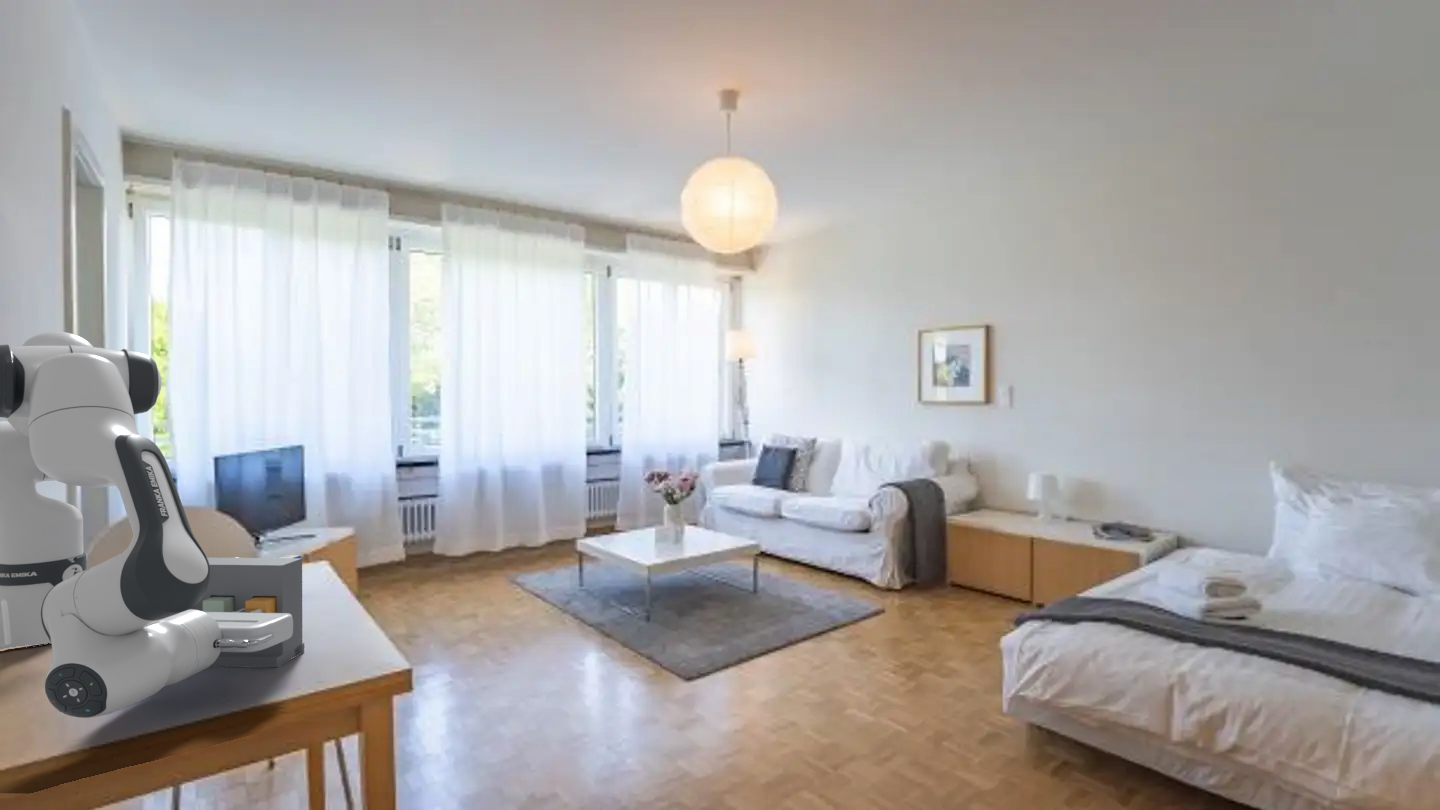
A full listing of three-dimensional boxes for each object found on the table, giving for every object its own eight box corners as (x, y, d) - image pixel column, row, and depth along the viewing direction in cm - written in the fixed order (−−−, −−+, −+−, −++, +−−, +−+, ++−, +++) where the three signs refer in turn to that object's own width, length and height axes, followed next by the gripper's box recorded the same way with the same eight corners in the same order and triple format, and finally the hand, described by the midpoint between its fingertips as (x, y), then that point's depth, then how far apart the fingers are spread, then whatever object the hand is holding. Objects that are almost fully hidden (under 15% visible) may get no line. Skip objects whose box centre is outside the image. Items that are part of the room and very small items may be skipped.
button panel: (155, 665, 112) (154, 566, 112) (190, 650, 119) (189, 556, 119) (276, 667, 111) (276, 567, 111) (304, 651, 118) (304, 557, 118)
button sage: (202, 621, 111) (202, 600, 111) (217, 616, 114) (217, 595, 114) (223, 622, 111) (223, 601, 111) (237, 616, 114) (237, 595, 114)
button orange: (245, 622, 111) (245, 601, 111) (258, 616, 114) (258, 595, 114) (266, 622, 111) (266, 601, 111) (278, 617, 114) (278, 596, 114)
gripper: (256, 622, 96) (317, 594, 110) (113, 620, 97) (192, 592, 111) (256, 668, 96) (317, 634, 110) (113, 665, 97) (192, 632, 111)
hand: (253, 613), depth 111 cm, fingers closed
